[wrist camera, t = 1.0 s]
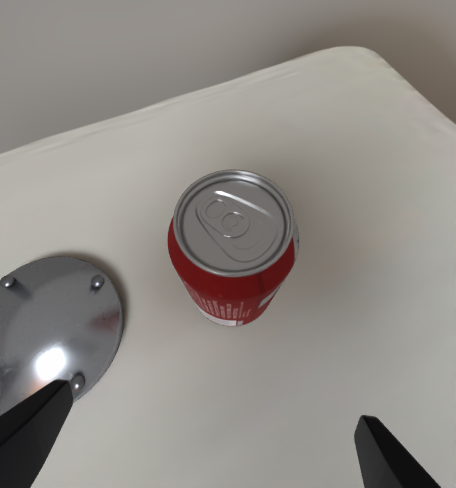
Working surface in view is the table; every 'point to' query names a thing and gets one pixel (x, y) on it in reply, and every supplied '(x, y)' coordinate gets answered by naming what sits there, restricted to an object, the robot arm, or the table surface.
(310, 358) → the table surface
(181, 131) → the table surface
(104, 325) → the flange
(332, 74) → the table surface
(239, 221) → the soda can
